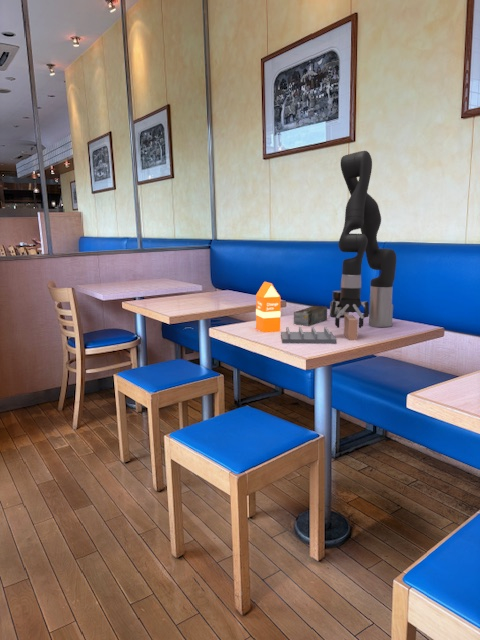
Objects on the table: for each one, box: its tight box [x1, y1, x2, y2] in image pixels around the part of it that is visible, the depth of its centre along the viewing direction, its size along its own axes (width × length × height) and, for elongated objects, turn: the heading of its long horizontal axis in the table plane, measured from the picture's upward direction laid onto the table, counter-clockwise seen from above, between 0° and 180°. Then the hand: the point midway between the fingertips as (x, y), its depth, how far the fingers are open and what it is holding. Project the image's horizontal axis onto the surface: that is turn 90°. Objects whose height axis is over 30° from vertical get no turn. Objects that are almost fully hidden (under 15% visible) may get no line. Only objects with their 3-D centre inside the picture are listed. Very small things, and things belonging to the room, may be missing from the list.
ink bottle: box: [329, 290, 350, 318], centre depth 231 cm, size 10×9×12 cm
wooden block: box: [343, 314, 359, 341], centre depth 188 cm, size 3×10×8 cm, turn 178°
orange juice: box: [255, 281, 282, 334], centre depth 200 cm, size 8×9×20 cm
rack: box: [280, 326, 338, 344], centre depth 185 cm, size 20×13×4 cm, turn 88°
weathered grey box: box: [293, 305, 328, 327], centre depth 218 cm, size 8×19×7 cm, turn 144°
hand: (348, 327), depth 188 cm, fingers open, 8 cm apart
